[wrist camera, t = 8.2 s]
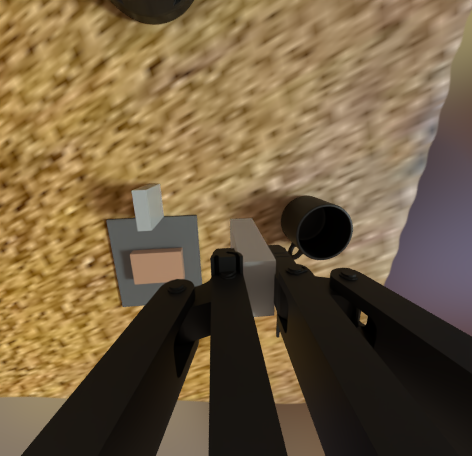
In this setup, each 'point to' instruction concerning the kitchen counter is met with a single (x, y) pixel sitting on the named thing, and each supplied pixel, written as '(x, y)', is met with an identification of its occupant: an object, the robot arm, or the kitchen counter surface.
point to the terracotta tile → (157, 265)
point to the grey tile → (147, 206)
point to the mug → (316, 228)
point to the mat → (161, 237)
